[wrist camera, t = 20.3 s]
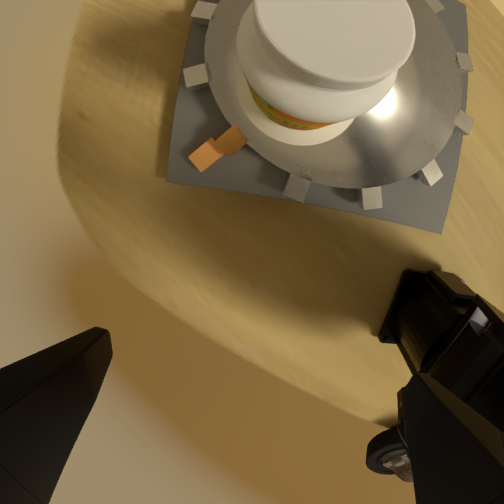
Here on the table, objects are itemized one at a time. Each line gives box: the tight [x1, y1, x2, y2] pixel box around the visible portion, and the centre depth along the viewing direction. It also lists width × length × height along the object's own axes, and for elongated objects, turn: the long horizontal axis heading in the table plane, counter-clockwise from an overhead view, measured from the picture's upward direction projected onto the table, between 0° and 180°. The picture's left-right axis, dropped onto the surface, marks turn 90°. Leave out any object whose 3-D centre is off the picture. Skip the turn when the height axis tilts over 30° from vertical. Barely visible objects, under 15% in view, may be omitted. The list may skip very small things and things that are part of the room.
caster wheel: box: [366, 427, 413, 482], centre depth 25 cm, size 7×11×10 cm
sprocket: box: [183, 0, 474, 210], centre depth 11 cm, size 18×20×6 cm
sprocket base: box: [166, 0, 468, 234], centre depth 14 cm, size 19×19×2 cm
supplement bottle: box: [236, 0, 415, 131], centre depth 9 cm, size 5×5×10 cm
